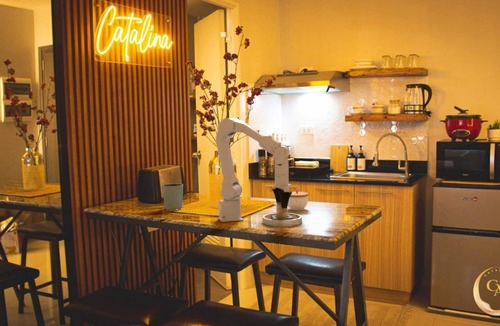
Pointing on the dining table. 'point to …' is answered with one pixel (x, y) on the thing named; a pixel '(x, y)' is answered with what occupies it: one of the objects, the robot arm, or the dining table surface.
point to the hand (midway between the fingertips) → (281, 206)
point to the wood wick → (280, 210)
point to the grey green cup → (173, 196)
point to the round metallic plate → (282, 220)
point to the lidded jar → (298, 200)
